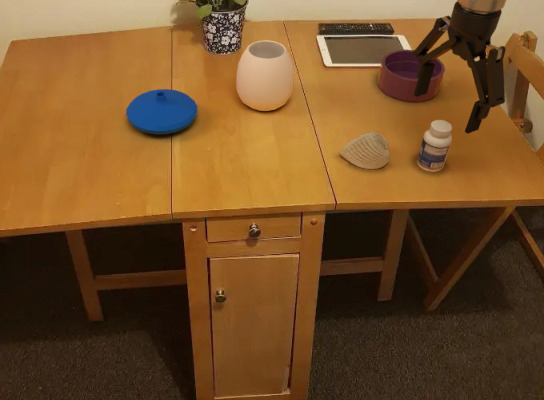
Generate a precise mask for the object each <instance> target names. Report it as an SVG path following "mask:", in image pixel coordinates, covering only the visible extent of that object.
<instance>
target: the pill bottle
mask: <svg viewBox="0 0 544 400" xmlns="http://www.w3.org/2000/svg"><path fill="white" fill-rule="evenodd" d="M452 131H453V125H452V124H451V122H448V121H447V120H444V119H435V120H433V121H432V122H431V123H430V127H429V129H427V130H426V131H425V132H424V134H423V137H422V140H421V143H420V147H419V151H418V155H417V159H416V165H417V166H418V167H419V168H420V169H422V170H423V171H426V172H430V173H436V172H439V171H442V170H443V168H444V166H445V163H446V160H447V159H448V155H449V152H450V149H451V145H452V142H453V137H452Z"/></svg>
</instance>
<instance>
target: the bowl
mask: <svg viewBox="0 0 544 400" xmlns="http://www.w3.org/2000/svg"><path fill="white" fill-rule="evenodd" d="M414 50H415V49H397V50H393V51H390V52H388V53H386V54H384V56H383V57H382V59H381V62H380V65H379V66H380V67H379V71H378V76H377V84H378V87H379V89H380V91H381V92H382V93H383V94H384V95H385V96H387V97H389V98H391V99H394V100H396V101H400V102H405V103H422V102H423V103H424V102H428V101H429V100H432V99H433V98H435V97H436V96H437V95H438V94H439V91H440V88H441V85H442V81H443V79H444V75H445V71H446V67H445V64H444V63H443V62H442V61H441V60H440V58H439V57H438V58H436V59H434V61H431V62H430V63H434V64H435V66H434V70H433V73H432V77H431V80H430V84H429V87H428V91H427V94H424V95H421V96H418V97H416V96H414V92H415V88H416V85H417V81H418V78H417V71H418V68H419V64H420V63H419V59H418V58H417V57H414V56H413V52H414ZM428 53H429V52H427V54H428Z"/></svg>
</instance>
